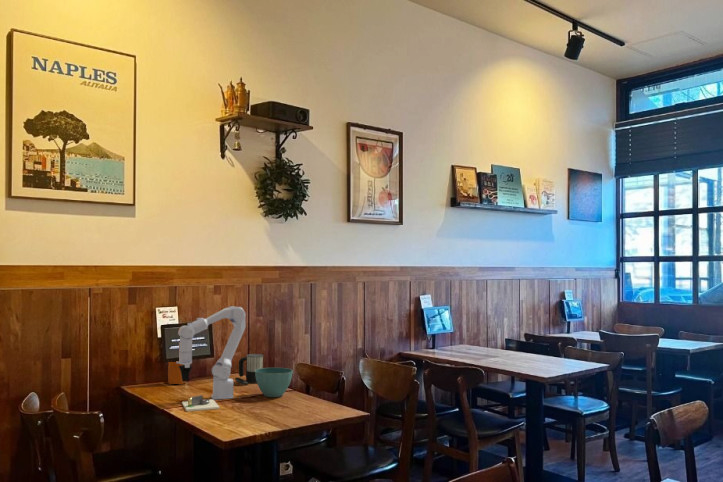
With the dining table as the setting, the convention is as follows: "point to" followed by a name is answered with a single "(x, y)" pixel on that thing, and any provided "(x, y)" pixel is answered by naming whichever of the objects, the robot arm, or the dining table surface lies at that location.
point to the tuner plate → (201, 406)
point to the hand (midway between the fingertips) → (184, 381)
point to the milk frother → (250, 368)
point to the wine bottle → (174, 373)
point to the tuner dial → (197, 400)
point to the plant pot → (273, 380)
